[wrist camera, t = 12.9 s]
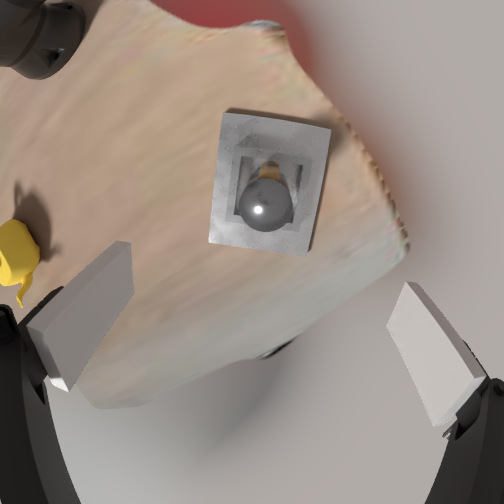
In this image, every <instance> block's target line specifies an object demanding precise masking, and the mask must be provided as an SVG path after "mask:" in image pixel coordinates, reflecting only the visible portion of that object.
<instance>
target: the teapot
mask: <svg viewBox="0 0 504 504" xmlns="http://www.w3.org/2000/svg"><path fill="white" fill-rule="evenodd" d="M39 253H40V247H39V246H38V245H37V244H35V242H34V240H33V238H32V236H31V235H30V233H29V232H28V229H27V226H26V224H25V223H21V222H20V221H18V220H15V219H11V220H9V221H7V222H6V223H4V224H3V225H2V226H1V227H0V283H1V284H2V285H3V286H9V285H14V284H18V283H20V282H22V287H21V288H20V290H19V291H18V293H17V301H18V303H19V305H20V307H21V308H23V306H22V298H23V295H24V294H25V293H26V291H27V290H28V289H29V288H30V286H31V284H32V280H33V276H32V273H33V272H34V270H35V269H36V267H37V265H38V263H39V259H40V255H39Z"/></svg>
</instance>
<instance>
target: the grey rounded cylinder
mask: <svg viewBox="0 0 504 504" xmlns="http://www.w3.org/2000/svg"><path fill="white" fill-rule="evenodd" d="M292 211H293V202H292V198H291V195H290V191H289V188H288V184H287V181H286V179H285V177H284V175H283V174H282V173H281V172H280V169H279V164H274V163H266V162H262V165H261V168H260V169H258V170H256V171H255V172H254V173H253V174H252V175H251V176H250V178H249V180H248V182H247V184H246V186H245V188H244V190H243V193H242V195H241V197H240V200H239V212H240V215H241V217H242V219H243V221H244V222H245V223H246V224H247V225H248V226H249V227H251V228H252V229H254V230H257V231H260V232H272V231H275V230H278V229H280V228H281V227H283V226H284V225H285V224H286V223H287V222H288V220H289V219H290V217H291V214H292Z"/></svg>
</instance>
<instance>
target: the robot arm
mask: <svg viewBox="0 0 504 504" xmlns="http://www.w3.org/2000/svg"><path fill="white" fill-rule="evenodd" d="M45 1H46V0H0V67H11V68H12V69H14V70H15V71H17V72H18V73H20V74H21V75H23V76H24V77H26V78H29V79H38V80H41V79H45V78H48V77H50V76H52V75H53V74H55V73H56V72H57V71H59V70H60V69H61V68H62V67H63V66H64V65H65V64H66V62H67V61H68V60H69V59H70V57H71V56H72V55H73V53H74V51H75V50H76V48H77V46H78V44H79V42H80V40H81V38H82V35H83V32H84V27H85V15H84V12H83V10H82V9H81V8H80V7H79V6H77V5H75V4H73V3H70V2H45ZM133 295H134V285H133V272H132V256H131V243H128V242H122V241H116V242H115V243H113V244H112V245H111V246H110V247H109V248H108V249H106V250H105V251H104V252H103V253H102V254H100V255H99V256H98V257H97V258H96V259H95V260H94V261H92V262H91V263H90V264H89V265H88V266H87V267H86V268H85V269H83V270H82V271H81V272H80V273H79V274H78V275H77V276H76V277H75V278H74V279H72V280H71V281H70V282H69V283H68V284H67V285H66V286H65V287H63V286H61V287H59V288H57V289H55V290H53V291H51V292H50V293H49V294H48V295H47V296H46V297H45V298H44V300H42V301H41V302H40V303H39V304H38V305H37V306H36V307H34V308H33V309H32V310H31V311H30V312H29V314H27V316H26V317H25V318H24V319H23V320H22V321H21V322H20V323H19V324H18V325H17V322H16V320H15V317H14V314H13V311H12V309H11V308H10V307H9V306H8V305H5V304H0V500H1V503H2V504H81V502H80V500H79V498H78V496H77V493H76V491H75V488H74V486H73V484H72V481H71V478H70V476H69V473H68V471H67V467H66V465H65V462H64V459H63V456H62V452H61V449H60V446H59V443H58V439H57V435H56V431H55V428H54V423H53V419H52V415H51V411H50V406H49V401H48V395H47V390H46V386H45V383H44V381H43V380H44V379H45V377H46V376H47V374H48V376H49V378H50V380H51V382H52V384H53V385H54V386H56V387H58V388H61V389H63V390H65V391H67V392H70V390H71V388H72V387H73V385H74V384H75V382H76V380H77V379H78V377H79V375H80V374H81V372H82V371H83V369H84V367H85V366H86V364H87V363H88V361H89V359H90V358H91V356H92V355H93V353H94V352H95V350H96V349H97V347H98V346H99V344H100V342H101V341H102V339H103V338H104V336H105V335H106V333H107V332H108V331H109V329H110V328H111V326H112V325H113V323H114V322H115V320H116V319H117V317H118V316H119V314H120V313H121V312H122V310H123V309H124V307H125V306H126V305H127V303H128V302H129V300H130V299H131V298H132V296H133ZM387 328H388V330H389V332H390V334H391V336H392V338H393V340H394V342H395V344H396V345H397V348H398V350H399V352H400V354H401V355H402V358H403V360H404V362H405V364H406V366H407V368H408V370H409V372H410V375H411V377H412V379H413V381H414V383H415V385H416V388H417V389H418V392H419V394H420V397H421V399H422V401H423V403H424V406H425V408H426V410H427V413H428V415H429V418H430V420H431V423H432V425H433V427H434V426H439V425H443V424H446V423H447V422H448V421H449V420H450V419H451V418H452V417H453V416H454V415H455V414H456V416H457V420H456V421H455V423H454V424H453V425H452V426H451V427H450V428H449V429H448V430H447V431H446V432H445V433H444V434H443V436H442V437H445V436H446V435H447V434H448V433H449V432H450V433H451V434H450V436H449V437H448V438H447V439H448V440H449V441H448V444H447V447H446V451H445V454H444V457H443V459H442V462H441V465H440V468H439V471H438V473H437V476H436V478H435V481H434V483H433V486H432V488H431V491H430V493H429V495H428V497H427V500H426V502H425V504H504V382H503V381H502V380H500V379H497V378H494V379H492V380H491V379H490V378H489V376H488V375H487V373H486V371H485V370H484V368H483V367H482V365H481V364H480V363H479V361H478V359H477V358H475V355H474V353H473V352H471V349H470V348H469V346H468V345H467V344H466V342H465V341H464V340H462V339H461V338H460V336H459V335H458V334H457V332H456V331H455V329H454V328H453V327H452V325H451V324H450V323H449V321H448V320H447V319H446V317H445V316H444V315H443V314H442V312H441V311H440V310H439V309H438V308H437V306H436V305H435V304H434V302H433V301H432V300H431V299H430V298H429V296H428V295H427V294H426V293H425V292H424V290H423V289H422V288H421V287H420V285H419V284H418V283H414V282H407V281H406V282H405V284H404V287H403V289H402V292H401V294H400V297H399V299H398V301H397V304H396V306H395V308H394V311H393V313H392V315H391V318H390V320H389V322H388V324H387Z"/></svg>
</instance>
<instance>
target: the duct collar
mask: <svg viewBox="0 0 504 504" xmlns="http://www.w3.org/2000/svg"><path fill="white" fill-rule="evenodd" d="M330 136H331V129H327V128H322V127H317V126H313V125H308V124H302V123H297V122H291V121H286V120H280V119H273V118H266V117H259V116H252V115H243V114H234V113H224V112H223V116H222V123H221V130H220V138H219V146H218V154H217V163H216V172H215V181H214V190H213V200H212V210H211V221H210V232H209V243H216V244H223V245H230V246H237V247H244V248H251V249H258V250H265V251H272V252H279V253H286V254H293V255H299V256H307V252H308V247H309V243H310V238H311V234H312V229H313V225H314V220H315V216H316V211H317V206H318V201H319V196H320V191H321V186H322V181H323V176H324V170H325V165H326V159H327V154H328V148H329V142H330ZM262 162H266V163H274V164H279V169H280V172H281V173H282V174H283V175H284V177H285V179H286V181H287V184H288V188H289V191H290V195H291V198H292V202H293V211H292V214H291V217H290V219H289V220H288V222H287V223H286V224H285V225H284V226H283V227H281V228H280V229H278V230H275V231H272V232H260V231H257V230H254V229H252V228H251V227H249V226H248V225H247V224H246V223H245V222H244V221H243V219H242V217H241V215H240V212H239V200H240V197H241V195H242V193H243V190H244V188H245V186H246V184H247V182H248V180H249V178H250V176H251V175H252V174H253V173H254V172H255V171H256V170H258V169H260V168H261V165H262Z"/></svg>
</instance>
